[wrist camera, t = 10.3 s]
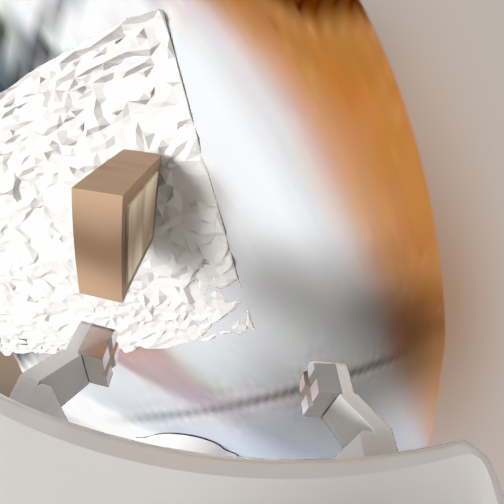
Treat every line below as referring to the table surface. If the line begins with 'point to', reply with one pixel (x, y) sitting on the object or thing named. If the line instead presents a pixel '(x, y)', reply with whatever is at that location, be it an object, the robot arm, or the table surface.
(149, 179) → the brown rectangular block
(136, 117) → the carpet tile
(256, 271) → the table surface
